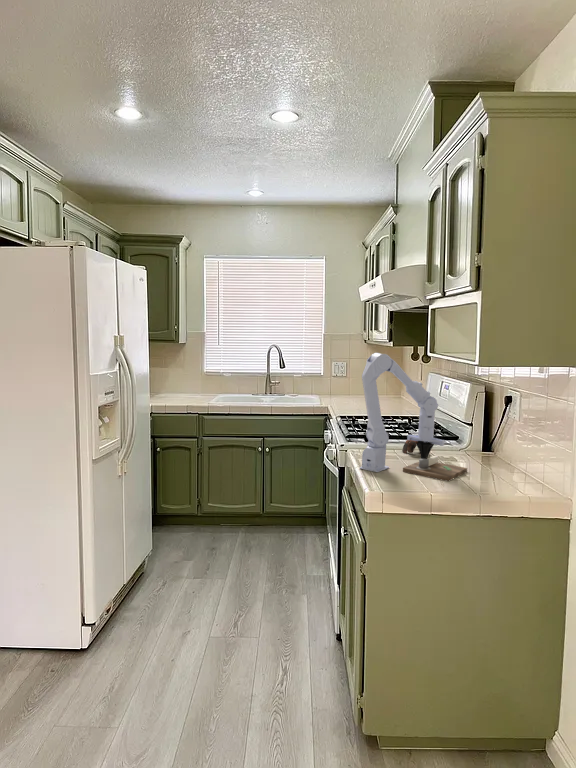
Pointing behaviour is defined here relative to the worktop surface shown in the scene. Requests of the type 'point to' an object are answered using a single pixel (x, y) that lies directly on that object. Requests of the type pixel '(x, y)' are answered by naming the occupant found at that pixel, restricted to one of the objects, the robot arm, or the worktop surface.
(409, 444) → the pottery mug
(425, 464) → the peg lever
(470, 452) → the worktop surface
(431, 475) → the brown flat square board
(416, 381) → the robot arm
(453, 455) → the worktop surface
